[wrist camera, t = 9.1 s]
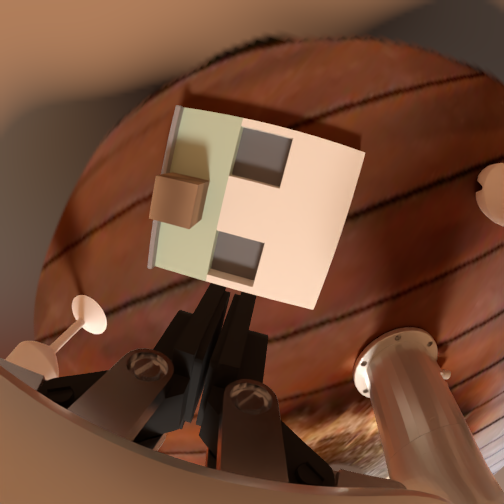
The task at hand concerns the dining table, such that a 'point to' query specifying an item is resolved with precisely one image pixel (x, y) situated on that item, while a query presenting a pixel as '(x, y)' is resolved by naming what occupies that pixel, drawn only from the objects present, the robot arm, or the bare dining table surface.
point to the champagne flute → (59, 339)
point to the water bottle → (492, 192)
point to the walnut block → (178, 199)
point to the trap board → (257, 205)
